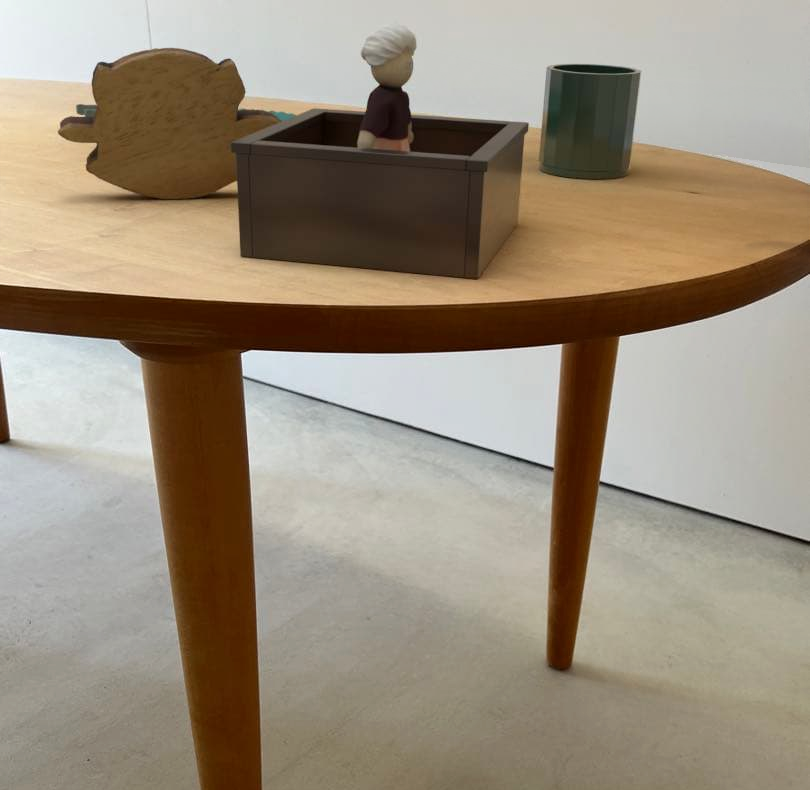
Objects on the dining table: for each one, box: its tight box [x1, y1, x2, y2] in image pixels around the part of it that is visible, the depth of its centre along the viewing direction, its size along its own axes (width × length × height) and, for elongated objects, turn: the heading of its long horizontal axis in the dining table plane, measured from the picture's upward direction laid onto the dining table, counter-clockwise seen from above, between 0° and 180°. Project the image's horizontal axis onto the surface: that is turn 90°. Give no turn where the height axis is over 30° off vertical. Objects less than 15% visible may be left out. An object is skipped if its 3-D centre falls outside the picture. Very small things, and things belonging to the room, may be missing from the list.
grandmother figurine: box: [357, 22, 418, 152], centre depth 69 cm, size 8×4×13 cm, turn 170°
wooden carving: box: [57, 47, 282, 200], centre depth 79 cm, size 16×5×10 cm, turn 109°
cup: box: [538, 63, 642, 180], centre depth 92 cm, size 8×8×8 cm
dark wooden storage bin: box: [231, 107, 530, 280], centre depth 70 cm, size 15×15×7 cm
